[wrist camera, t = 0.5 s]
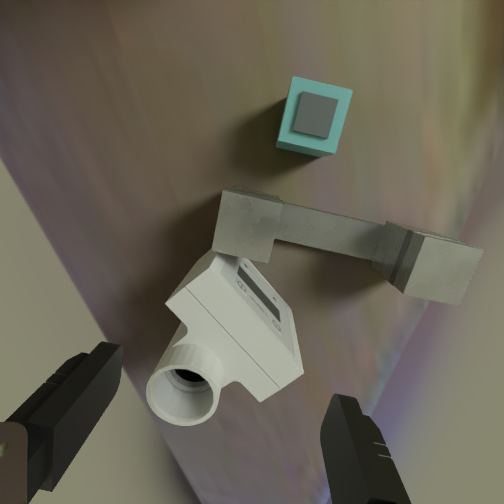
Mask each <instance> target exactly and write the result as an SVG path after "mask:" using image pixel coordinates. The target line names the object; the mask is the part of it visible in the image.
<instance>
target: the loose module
mask: <svg viewBox="0 0 504 504" xmlns="http://www.w3.org/2000/svg"><path fill="white" fill-rule="evenodd" d="M352 92H353V90H350V89H346V88H342V87H337V86H333V85H329V84H325V83H321V82H316V81H312V80H308V79H304V78H300V77H295V76H293V78H292V81H291V84H290V88H289V91H288V94H287V98H286V102H285V107H284V111H283V115H282V120H281V124H280V128H279V133H278V137H277V142H276V146H275V147H277V148H281V149H285V150H290V151H294V152H298V153H303V154H307V155H311V156H316V157H324V156H328V155H332V154H335V152H336V149H337V145H338V142H339V138H340V135H341V131H342V128H343V124H344V121H345V117H346V114H347V110H348V106H349V103H350V99H351V96H352Z"/></svg>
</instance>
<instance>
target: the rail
mask: <svg viewBox="0 0 504 504" xmlns="http://www.w3.org/2000/svg"><path fill="white" fill-rule="evenodd" d="M274 239H279V240H284V241H288V242H293V243H297V244H301V245H306V246H310V247H315V248H319V249H323V250H328V251H332V252H337V253H341V254H346V255H350V256H354V257H359V258H363V259H368V260H372V264H371V266H372V267H373V268H374V269H375V270H377V271H378V272H379V273H380V274H381V275H382V276H383V277H385V278H386V279H387V280H388V281H389V283H390V284H391V285H393V286H395V287H396V288H397V289H398V290H399V291H401V292H402V293H403V294H406V295H411V296H415V297H420V298H424V299H429V300H433V301H438V302H442V303H446V304H451V305H455V306H459V305H460V303H461V300H462V298H463V296H464V294H465V291H466V289H467V287H468V285H469V283H470V280H471V278H472V276H473V274H474V272H475V269H476V267H477V265H478V263H479V260H480V258H481V256H482V254H483V252H484V250H483V249H480V248H477V247H474V246H471V245H469V244H468V243H465V242H462V241H458V240H455V239H452V238H449V237H446V236H443V235H440V234H438V233H435V232H432V231H428V230H424V229H419V228H415V227H411V226H406V225H402V224H397V223H393V222H389V221H386V224H385V225H382V224H377V223H373V222H369V221H364V220H360V219H355V218H351V217H347V216H342V215H338V214H334V213H329V212H325V211H320V210H316V209H312V208H307V207H303V206H299V205H294V204H290V203H285V202H282V200H280V198H279V196H275V195H271V194H266V193H262V192H258V191H253V190H249V189H245V188H240V187H236V186H232V187H229V188H226V189H225V190H223V192H222V198H221V203H220V208H219V213H218V219H217V224H216V229H215V234H214V239H213V245H212V250H211V251H215V252H219V253H224V254H228V255H233V256H237V257H241V258H246V259H250V260H255V261H259V262H264V263H269V259H270V255H271V251H272V247H273V243H274Z"/></svg>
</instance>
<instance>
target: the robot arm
mask: <svg viewBox="0 0 504 504" xmlns="http://www.w3.org/2000/svg"><path fill="white" fill-rule="evenodd" d="M123 351H124V348H123V346H121V345H117V344H112V343H108V342H100V343H99V344H98V345H97V347H95V349H94V350H93V351H92V352H91V353H90V354H87V353H80V354H78V355H76V356H74V357H72V358H70V359H69V360H67V361H66V362H65V363H64V364H63V365H62V366H61V367H60V368H59V369H58V370H57V371H56V373H55V374H53V375H52V376H51V377H49V378H48V380H46V383H43V384H42V386H40V387H39V388H38V389H37V390H36V391H35V392H34V393H33V394H32V395H31V396H30V397H29V398H28V399H27V400H26V401H25V402H24V403H23V404H22V405H21V406H20V407H19V408H18V409H17V410H16V411H15V412H14V413H13V414H12V415H11V416H10V417H9V418H8V419H7V420H6V421H5V422H0V504H29V502H30V501H31V499H32V498H33V497H34V495H35V494H36V492H37V491H38V489H41V490H46V491H51V492H52V491H53V489H54V488H55V486H56V485H57V483H58V482H59V480H60V479H61V477H62V476H63V474H64V473H65V471H66V469H67V468H68V466H69V465H70V463H71V462H72V460H73V459H74V457H75V456H76V454H77V453H78V451H79V449H80V448H81V446H82V445H83V444H84V442H85V440H86V439H87V437H88V436H89V434H90V433H91V431H92V430H93V428H94V427H95V425H96V423H97V422H98V421H99V419H100V417H101V416H102V414H103V413H104V411H105V410H106V408H107V407H108V405H109V404H110V402H111V401H112V399H113V397H114V396H115V394H116V392H117V389H118V386H119V383H120V377H121V369H122V360H123ZM320 441H321V447H322V453H323V458H324V463H325V468H326V473H327V478H328V483H329V488H330V493H331V498H332V503H333V504H411V502H410V499H409V497H408V495H407V492H406V490H405V488H404V485H403V483H402V481H401V478H400V476H399V474H398V471H397V469H396V467H395V464H394V462H393V460H392V459H391V455H390V453H389V450H388V448H387V447H386V443H385V441H384V439H383V436H382V434H381V432H380V429H379V428H378V427H377V426H376V424H375V423H374V422H373V421H372V419H371V418H370V417H369V416H366V415H363V414H362V411H361V409H360V406H359V403H358V401H357V399H356V398H354V397H350V396H345V395H341V394H334V395H333V396H332V399H331V401H330V404H329V407H328V409H327V412H326V415H325V417H324V420H323V423H322V426H321V432H320Z"/></svg>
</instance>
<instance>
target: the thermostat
mask: <svg viewBox="0 0 504 504" xmlns="http://www.w3.org/2000/svg"><path fill="white" fill-rule="evenodd" d="M211 250H212V249H210V250H209V251H208V252H207V253H206V254H204V255H203V256H202V257H201V258H200V259H199V260H198V261H197V262H196V263H195V265H194V266H193V267H192V268H191V270H190V271H189V272H188V274H187V275H186V276H185V278H184V279H183V280H182V282H181V283H180V284H179V286H178V287H177V288H176V290H175V291H174V292H173V294H172V295H171V296H170V297H169V299H168V300H167V301H166V303H165V304H166V305H167V306H168V307H169V308H170V309H171V310H172V311H173V313H174V314H175V315H176V316H177V317H178V318H179V319H180V320H181V321H182V322H181V323H180V325H179V327H178V329H177V331H176V332H175V334H174V336H173V338H172V340H171V341H170V343H169V344H168V347H167V349H166V350H165V352H164V354H163V356H162V358H161V359H160V361H159V363H158V365H157V367H156V368H155V370H154V372H153V374H152V376H151V377H150V379H149V381H148V384H147V387H146V397H147V401H148V403H149V406H150V407H151V409H152V410H153V411H154V412H155V414H156V415H158V416H159V417H160V418H161V419H163V420H165V421H167V422H169V423H172V424H175V425H181V426H191V425H196V424H199V423H201V422H204V421H206V420H207V419H208V418H209V417H211V416H212V414H213V413H214V412H215V410H216V408H217V405H218V401H219V396H220V391H221V388H222V387H224V386H226V385H227V384H229V383H230V382H232V381H239V382H240V383H242V384H243V385H244V386H245V387H246V388H247V389H248V390H249V392H250V393H251V394H252V395H253V396H254V397H255V398H256V399H257V400H258V401H259V402H261V401H263V400H265V399H266V398H268V397H269V396H271V395H272V394H274V393H276V392H277V391H279V390H280V389H282V388H283V387H285V386H286V385H288V384H289V383H290V382H292V381H293V380H295V379H296V378H298V377H299V376H300V375H302V374H303V373H304V371H303V366H302V361H301V356H300V351H299V346H298V341H297V335H296V330H295V325H294V320H293V315H292V310H291V308H290V307H289V306H288V305H287V304H286V302H285V301H284V300H283V299H282V298H281V297H280V295H279V294H278V293H277V292H276V291H275V290H274V288H273V287H272V286H271V285H270V284H269V283H268V282H267V280H266V279H265V278H264V277H263V276H262V275H261V273H260V272H259V271H258V270H257V269H256V268H255V266H254V265H253V264H252V263H251V262H250V261H249V259H246V258H241V257H237V256H233V255H228V254H224V253H219V252H215V251H211Z"/></svg>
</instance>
